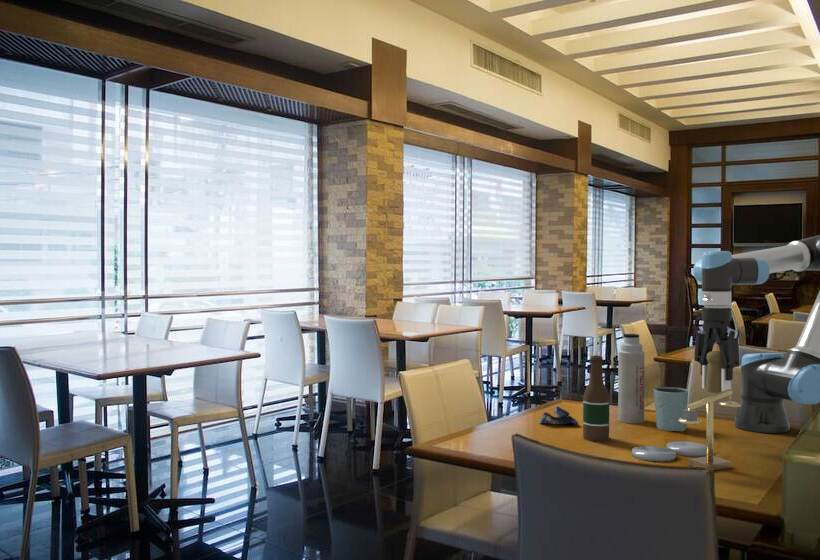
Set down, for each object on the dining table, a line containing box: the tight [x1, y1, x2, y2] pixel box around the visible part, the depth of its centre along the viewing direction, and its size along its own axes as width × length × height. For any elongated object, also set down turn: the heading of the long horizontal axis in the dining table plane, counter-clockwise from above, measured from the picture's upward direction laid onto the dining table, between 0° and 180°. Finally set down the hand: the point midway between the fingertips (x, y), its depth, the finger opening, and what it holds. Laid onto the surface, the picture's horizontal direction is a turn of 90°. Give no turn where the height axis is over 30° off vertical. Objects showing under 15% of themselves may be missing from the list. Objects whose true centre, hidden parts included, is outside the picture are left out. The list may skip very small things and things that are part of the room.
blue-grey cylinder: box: [653, 386, 689, 432], centre depth 216 cm, size 10×10×12 cm
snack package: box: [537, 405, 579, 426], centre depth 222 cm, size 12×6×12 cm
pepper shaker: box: [704, 350, 724, 394], centre depth 195 cm, size 6×6×11 cm
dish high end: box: [666, 440, 706, 458], centre depth 190 cm, size 11×11×1 cm
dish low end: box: [631, 445, 677, 463], centre depth 185 cm, size 11×11×1 cm
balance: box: [679, 389, 741, 471], centre depth 175 cm, size 19×6×19 cm, turn 114°
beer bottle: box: [582, 354, 610, 443], centre depth 203 cm, size 8×8×24 cm
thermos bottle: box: [617, 333, 646, 424], centre depth 226 cm, size 8×8×28 cm
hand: (716, 389), depth 195 cm, fingers closed on pepper shaker, 6 cm apart
